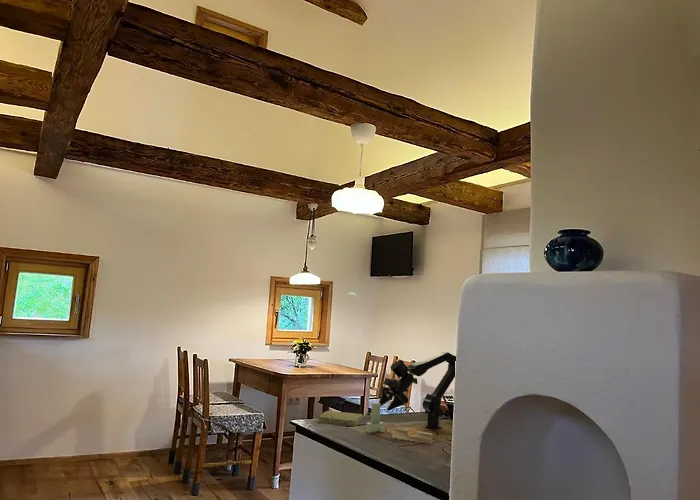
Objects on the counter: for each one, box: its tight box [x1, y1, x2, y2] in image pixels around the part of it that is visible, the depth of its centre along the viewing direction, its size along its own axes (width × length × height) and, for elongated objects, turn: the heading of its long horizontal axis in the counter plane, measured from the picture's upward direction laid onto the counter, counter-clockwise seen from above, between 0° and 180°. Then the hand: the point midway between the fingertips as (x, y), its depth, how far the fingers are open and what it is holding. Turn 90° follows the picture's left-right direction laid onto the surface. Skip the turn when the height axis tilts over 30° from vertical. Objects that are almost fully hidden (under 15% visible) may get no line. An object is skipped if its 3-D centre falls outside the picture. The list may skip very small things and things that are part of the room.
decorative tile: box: [317, 410, 364, 427], centre depth 271 cm, size 19×20×4 cm
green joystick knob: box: [365, 402, 385, 434], centre depth 252 cm, size 8×4×13 cm, turn 115°
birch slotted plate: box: [391, 427, 433, 445], centre depth 237 cm, size 2×18×4 cm, turn 64°
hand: (382, 408), depth 254 cm, fingers open, 9 cm apart
